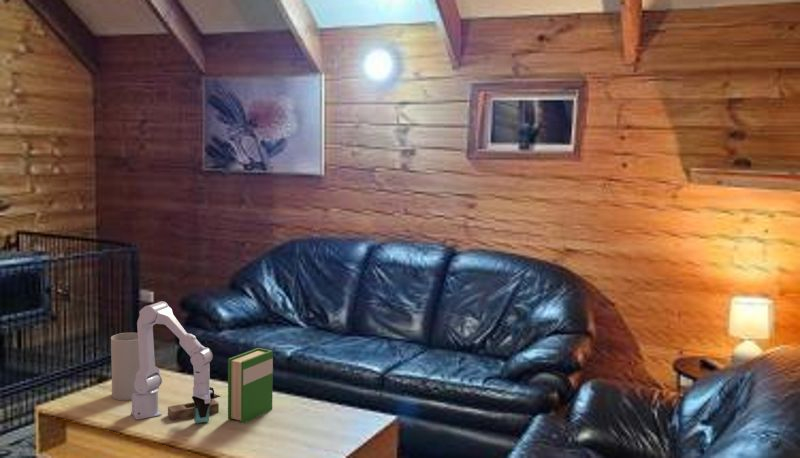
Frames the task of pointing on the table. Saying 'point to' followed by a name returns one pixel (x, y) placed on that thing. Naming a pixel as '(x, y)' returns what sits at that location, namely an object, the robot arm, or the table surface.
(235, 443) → the table surface
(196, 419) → the teal rectangular block
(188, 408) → the slotted beam
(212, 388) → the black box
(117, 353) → the cylinder vase
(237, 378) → the hardback book
